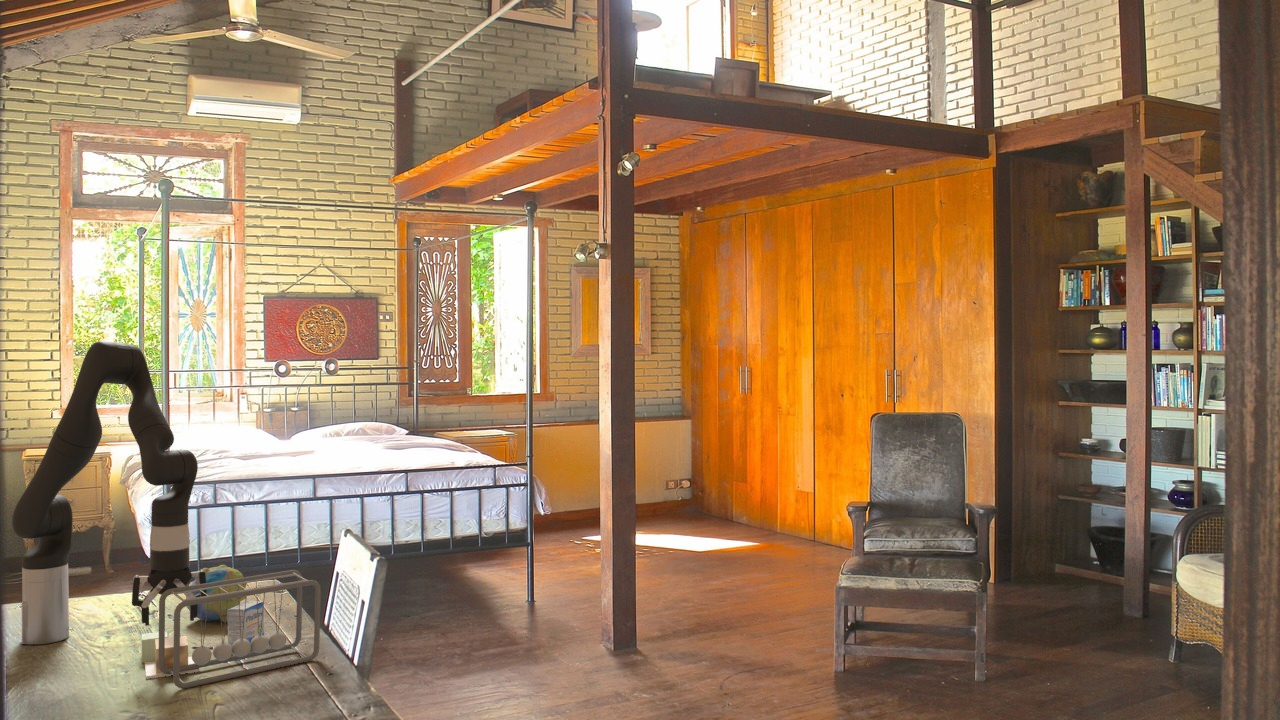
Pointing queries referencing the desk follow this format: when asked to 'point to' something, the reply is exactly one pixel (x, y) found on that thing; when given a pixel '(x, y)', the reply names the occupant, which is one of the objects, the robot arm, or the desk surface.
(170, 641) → the oak block
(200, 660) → the newton's cradle
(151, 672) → the board
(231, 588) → the globe ball
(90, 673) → the desk surface
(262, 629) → the medicine box
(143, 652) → the sage block
